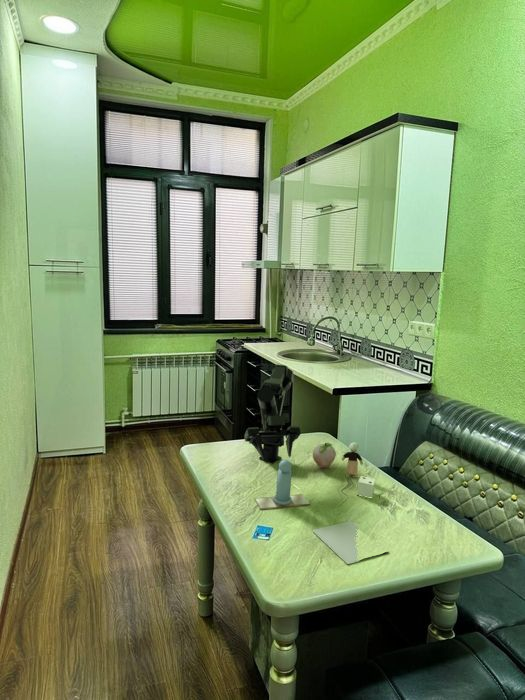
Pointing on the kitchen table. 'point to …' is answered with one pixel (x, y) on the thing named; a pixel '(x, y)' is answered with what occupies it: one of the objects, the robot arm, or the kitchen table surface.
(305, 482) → the kitchen table surface
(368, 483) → the die
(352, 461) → the grandmother figurine
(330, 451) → the decorative fruit
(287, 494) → the pawn
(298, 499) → the board
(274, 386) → the robot arm
